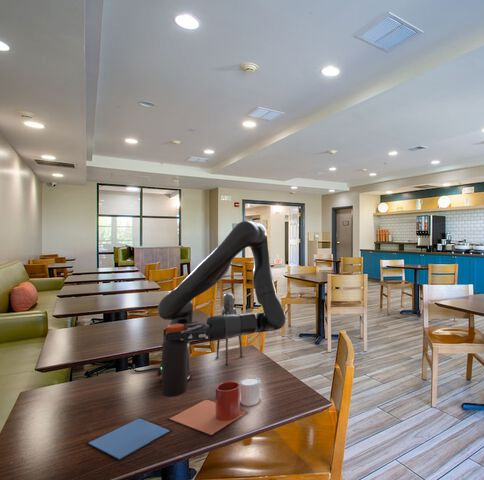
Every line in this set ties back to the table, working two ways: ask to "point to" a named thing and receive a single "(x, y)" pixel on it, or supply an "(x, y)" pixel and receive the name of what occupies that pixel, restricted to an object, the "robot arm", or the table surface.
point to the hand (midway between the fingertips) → (164, 334)
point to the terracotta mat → (203, 417)
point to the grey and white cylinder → (250, 391)
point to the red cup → (227, 401)
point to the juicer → (228, 309)
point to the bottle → (174, 364)
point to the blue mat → (128, 438)
